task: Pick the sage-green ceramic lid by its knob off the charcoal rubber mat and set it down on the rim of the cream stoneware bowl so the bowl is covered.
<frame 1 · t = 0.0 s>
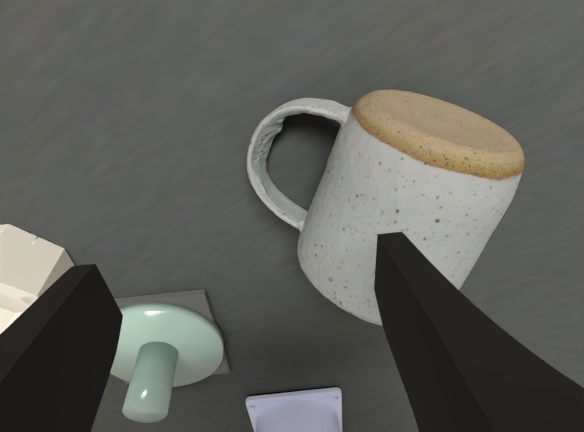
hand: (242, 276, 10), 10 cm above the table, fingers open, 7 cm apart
lid: (161, 342, 28), resting on mat
bowl: (15, 273, 23), on the table
ceramic mug: (354, 159, 21), on the table
mat: (162, 338, 28), on the table
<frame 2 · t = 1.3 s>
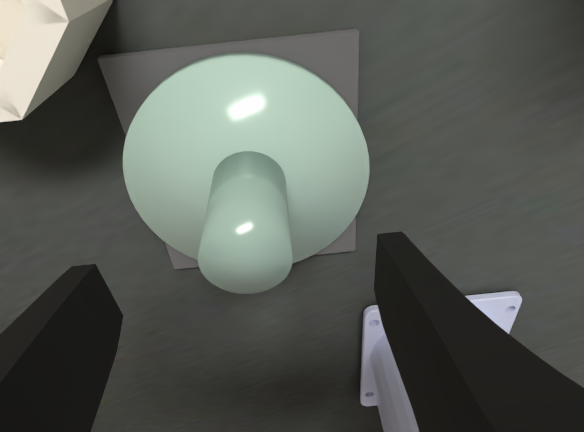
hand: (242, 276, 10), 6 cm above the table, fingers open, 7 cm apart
lid: (249, 172, 15), resting on mat
mat: (250, 167, 15), on the table
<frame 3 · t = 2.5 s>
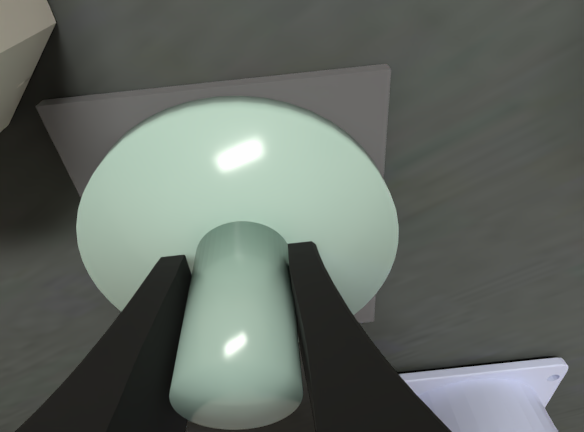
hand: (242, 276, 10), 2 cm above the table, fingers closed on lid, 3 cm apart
lid: (244, 239, 12), resting on mat, touching gripper
mat: (244, 230, 12), on the table
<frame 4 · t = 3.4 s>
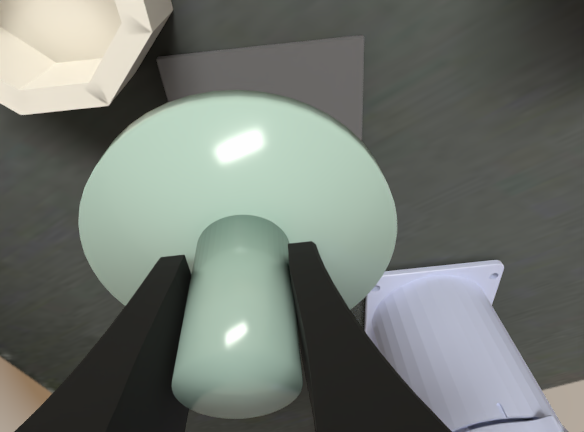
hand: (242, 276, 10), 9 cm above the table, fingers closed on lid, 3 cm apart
lid: (244, 232, 12), point 7 cm above the table, touching gripper
mat: (273, 148, 18), on the table
when the fingers open (6 cm above the table, at t = 4.6 s): lid stays where it is, resting on bowl.
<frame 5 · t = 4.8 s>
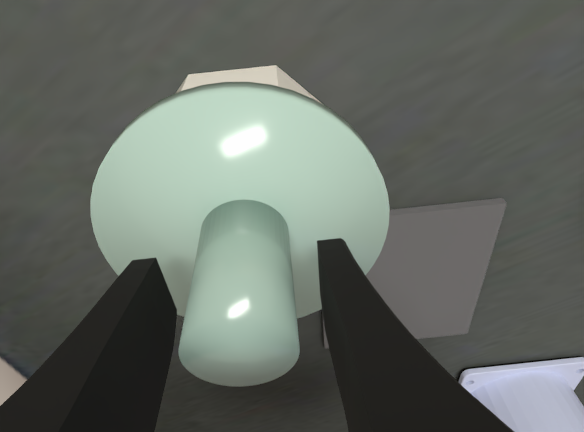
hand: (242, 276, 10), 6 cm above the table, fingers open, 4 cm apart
lid: (245, 218, 12), point 3 cm above the table, touching bowl
bowl: (248, 162, 15), on the table
mat: (400, 280, 20), on the table
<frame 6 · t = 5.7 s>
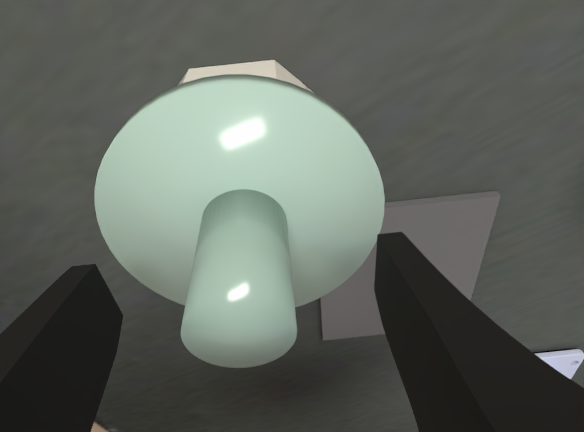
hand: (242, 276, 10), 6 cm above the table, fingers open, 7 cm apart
lid: (245, 209, 13), point 3 cm above the table, touching bowl
bowl: (247, 155, 16), on the table
mat: (397, 272, 20), on the table
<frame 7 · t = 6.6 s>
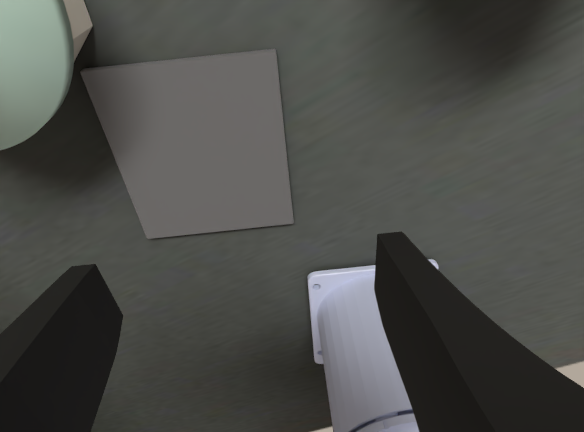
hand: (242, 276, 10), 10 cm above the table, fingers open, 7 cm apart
mat: (203, 154, 19), on the table
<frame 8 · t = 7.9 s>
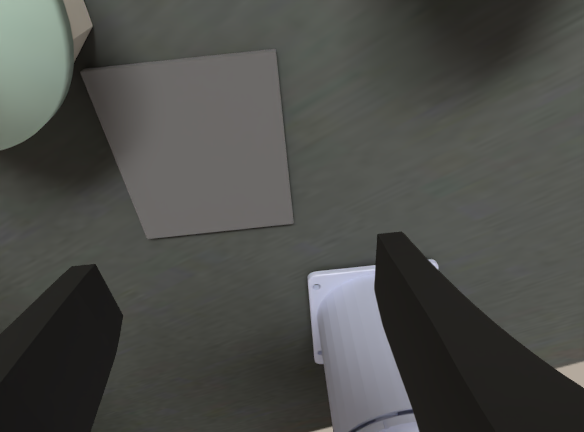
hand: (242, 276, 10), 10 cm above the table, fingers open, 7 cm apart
mat: (203, 154, 19), on the table
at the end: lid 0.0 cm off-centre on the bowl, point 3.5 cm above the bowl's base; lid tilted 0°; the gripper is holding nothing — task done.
